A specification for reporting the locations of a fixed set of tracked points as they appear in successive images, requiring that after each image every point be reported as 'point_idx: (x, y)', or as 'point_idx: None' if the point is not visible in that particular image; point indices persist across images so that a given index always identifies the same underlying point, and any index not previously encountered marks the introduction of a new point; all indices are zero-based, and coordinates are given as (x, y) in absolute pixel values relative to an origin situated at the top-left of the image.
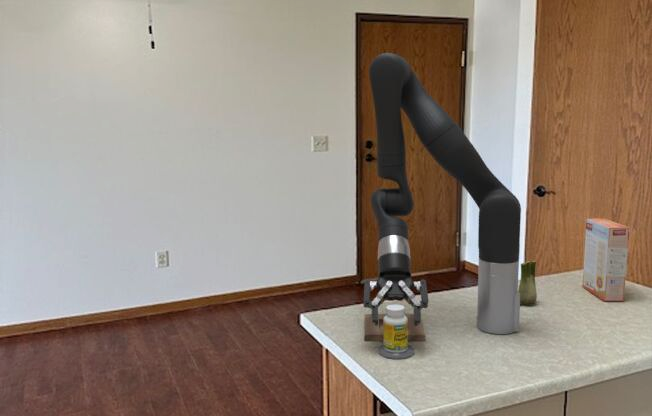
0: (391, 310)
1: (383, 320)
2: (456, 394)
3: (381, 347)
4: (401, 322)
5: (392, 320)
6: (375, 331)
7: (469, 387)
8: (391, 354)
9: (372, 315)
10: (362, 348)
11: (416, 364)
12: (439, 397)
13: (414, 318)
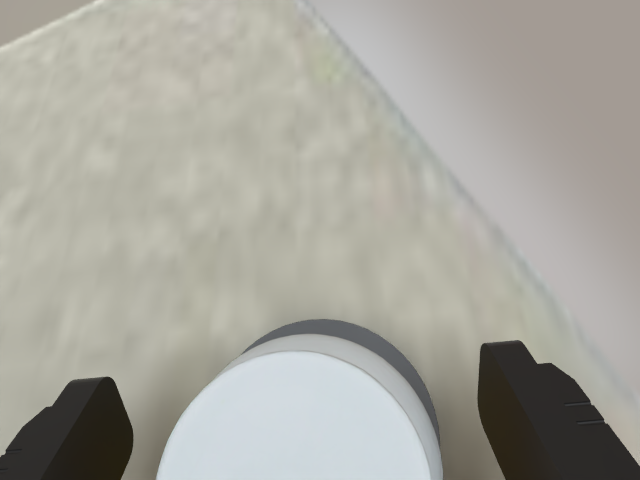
0: (344, 363)
1: (436, 441)
2: (88, 43)
3: None
4: (243, 355)
5: (333, 350)
6: None
7: (25, 97)
8: None
9: (582, 406)
10: None
11: (211, 274)
12: (153, 17)
13: (93, 434)
